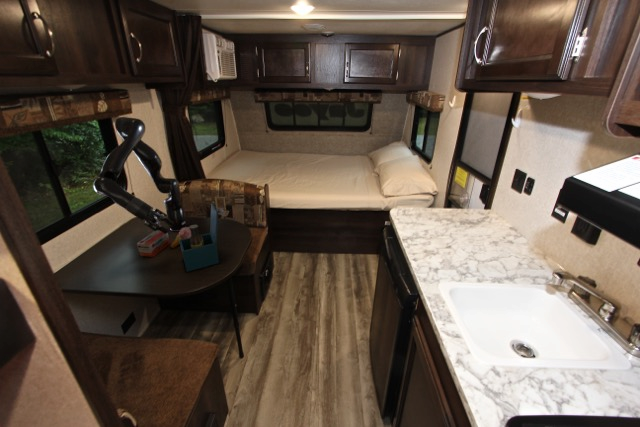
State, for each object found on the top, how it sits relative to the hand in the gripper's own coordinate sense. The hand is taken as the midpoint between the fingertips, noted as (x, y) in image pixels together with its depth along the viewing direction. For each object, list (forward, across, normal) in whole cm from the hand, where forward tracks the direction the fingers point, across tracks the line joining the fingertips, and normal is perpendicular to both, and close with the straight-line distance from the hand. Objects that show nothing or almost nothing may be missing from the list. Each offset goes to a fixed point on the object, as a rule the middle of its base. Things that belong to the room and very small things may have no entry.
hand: (169, 228), depth 143 cm
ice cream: (+14, +19, +15) cm, 28 cm away
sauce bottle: (+22, 0, +6) cm, 23 cm away
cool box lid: (+14, +3, -14) cm, 20 cm away
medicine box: (+4, +16, +26) cm, 30 cm away
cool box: (+23, 0, +6) cm, 24 cm away
